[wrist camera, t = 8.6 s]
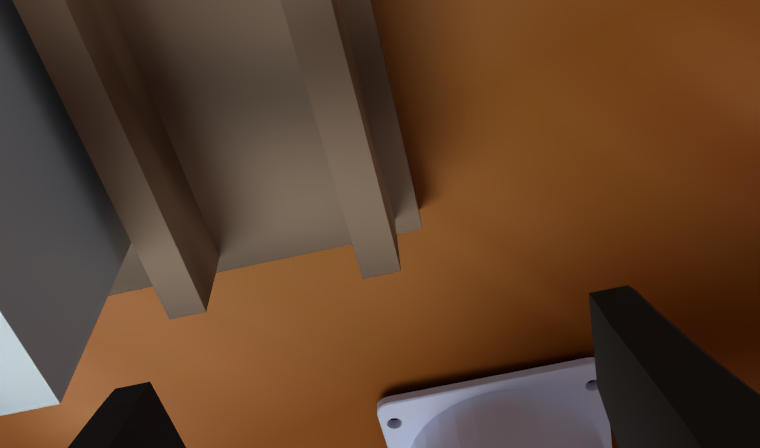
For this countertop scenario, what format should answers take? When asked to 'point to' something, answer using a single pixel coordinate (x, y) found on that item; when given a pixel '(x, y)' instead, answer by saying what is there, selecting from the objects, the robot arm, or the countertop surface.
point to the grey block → (46, 231)
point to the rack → (232, 132)
